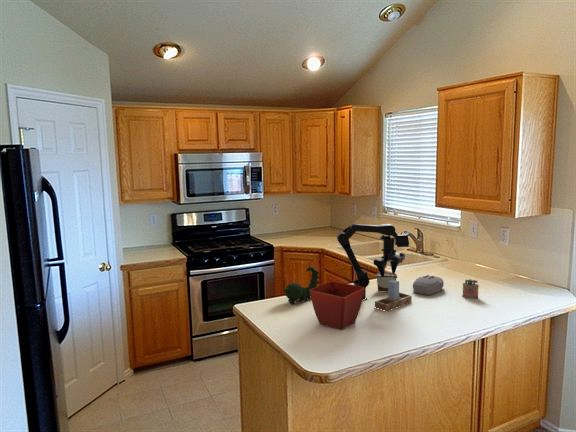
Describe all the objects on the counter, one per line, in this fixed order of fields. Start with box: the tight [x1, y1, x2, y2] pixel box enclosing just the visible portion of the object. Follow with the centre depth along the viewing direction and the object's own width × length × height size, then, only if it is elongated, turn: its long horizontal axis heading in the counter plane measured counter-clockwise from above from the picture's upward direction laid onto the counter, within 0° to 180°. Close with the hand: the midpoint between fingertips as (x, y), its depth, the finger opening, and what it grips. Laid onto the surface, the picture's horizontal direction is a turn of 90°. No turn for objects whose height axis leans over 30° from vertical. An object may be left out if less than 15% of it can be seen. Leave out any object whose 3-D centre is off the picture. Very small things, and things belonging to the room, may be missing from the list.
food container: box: [375, 271, 398, 291], centre depth 243 cm, size 12×6×10 cm, turn 84°
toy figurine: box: [282, 266, 320, 304], centre depth 228 cm, size 9×19×25 cm
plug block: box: [387, 279, 400, 301], centre depth 218 cm, size 4×4×12 cm
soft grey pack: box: [412, 274, 444, 296], centre depth 241 cm, size 15×8×20 cm
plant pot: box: [310, 280, 366, 330], centre depth 196 cm, size 19×19×17 cm
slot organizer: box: [374, 291, 413, 312], centre depth 219 cm, size 21×8×4 cm, turn 130°
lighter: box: [461, 278, 480, 300], centre depth 228 cm, size 8×3×10 cm, turn 62°
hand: (388, 275), depth 228 cm, fingers open, 9 cm apart
